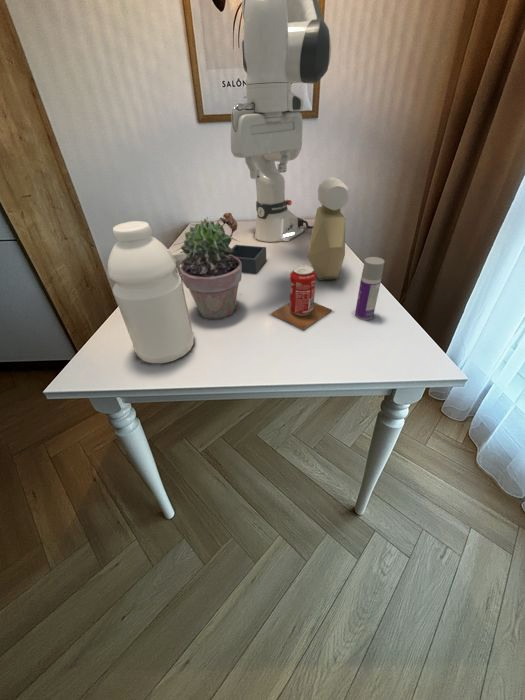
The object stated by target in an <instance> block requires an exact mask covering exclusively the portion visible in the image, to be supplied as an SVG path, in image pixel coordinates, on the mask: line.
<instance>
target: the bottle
mask: <svg viewBox="0 0 525 700" xmlns="http://www.w3.org/2000/svg"><path fill="white" fill-rule="evenodd" d="M152 233H153V231H152V227H151V225H150V224H149V223H148V222H147V221H143V220H131V221H126V222H121V223H119V224H116V225H114V226H113V227H112V235H113V238H114V239H115V240H117V241H116V242H115V243H114V245H113V247H112V249H111V251H110V254H109V255H108V259H107V269H106V270H107V271H106V273H107V275H108V277H109V280H111V281H113V282H115V283H114V285H113V287H112V290H111V291H112V295H113V296H114V299H115V301H116V304H117V307H118V309H119V312H120V314H121V317H122V320H123V322H124V325H125V327H126V330H127V333H128V335H129V338H130V340H131V344H132V348H133V351H134V353H135V354H136V356H137V358H139V359H140V360H141V361H143V362H146V363H150V364H165V363H170V362H174V361H176V360H178V359H181V358H182V357H184V356H185V355H186V354H187V353H189V352H190V351H191V349H192V347H193V346H194V344H195V343H194V342H195V341H194V339H195V337H194V331H193V327H192V323H191V319H190V314H189V313H190V312H189V309H188V304H187V300H186V295H185V289H184V283H183V279H182V276H179V273H176V272H174V270H175V268H176V260H175V259H174V257H173V255H172V254H171V253H172V252H171V251H170V250H169V249H168V248H167V247H166V246H165V244H164V243H162V242H161V241H160V240H159V239H157V238H156V237H154V236H153V235H152Z"/></svg>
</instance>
